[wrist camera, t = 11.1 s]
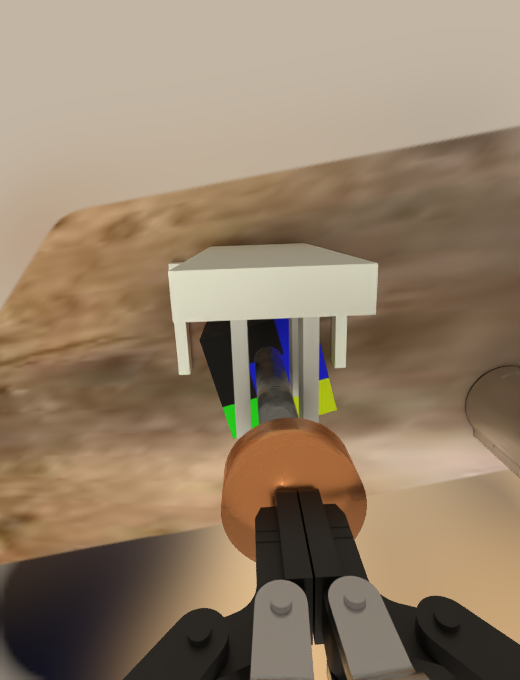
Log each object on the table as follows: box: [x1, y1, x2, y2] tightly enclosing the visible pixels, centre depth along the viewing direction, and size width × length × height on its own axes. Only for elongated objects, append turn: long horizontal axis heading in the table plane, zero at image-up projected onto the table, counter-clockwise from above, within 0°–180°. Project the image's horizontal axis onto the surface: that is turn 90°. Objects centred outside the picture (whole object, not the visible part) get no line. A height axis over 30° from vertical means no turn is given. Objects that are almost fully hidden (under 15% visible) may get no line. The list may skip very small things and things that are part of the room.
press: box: [168, 243, 378, 438], centre depth 32 cm, size 14×18×24 cm
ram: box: [221, 347, 367, 562], centre depth 21 cm, size 5×5×16 cm
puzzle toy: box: [200, 318, 337, 438], centre depth 40 cm, size 10×10×10 cm
